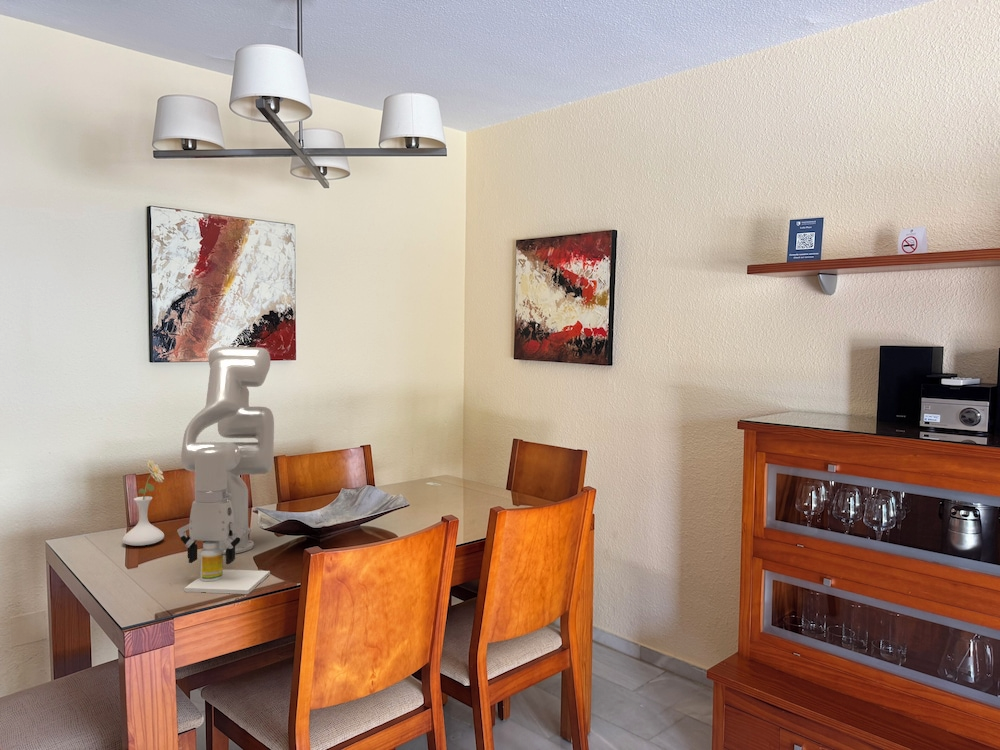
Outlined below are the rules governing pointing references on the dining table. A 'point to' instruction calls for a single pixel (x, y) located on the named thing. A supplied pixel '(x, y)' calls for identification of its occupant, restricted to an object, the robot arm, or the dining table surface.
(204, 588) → the mat
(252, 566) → the dining table surface
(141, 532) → the flower in vase
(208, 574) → the supplement bottle
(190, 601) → the dining table surface
